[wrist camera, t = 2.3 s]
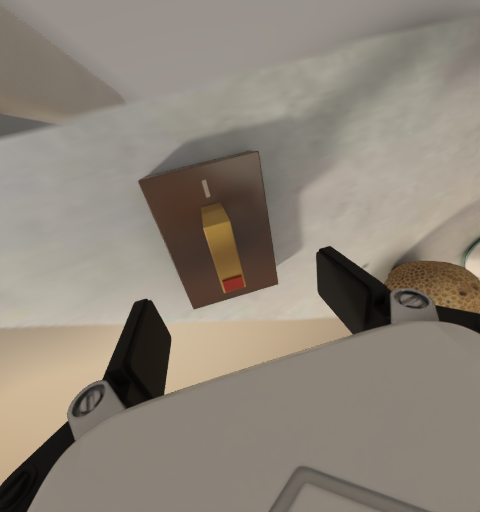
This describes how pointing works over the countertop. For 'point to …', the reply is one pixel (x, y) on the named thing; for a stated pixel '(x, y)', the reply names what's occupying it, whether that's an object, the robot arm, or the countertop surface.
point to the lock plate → (191, 226)
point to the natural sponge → (439, 283)
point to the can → (473, 260)
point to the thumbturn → (222, 247)
